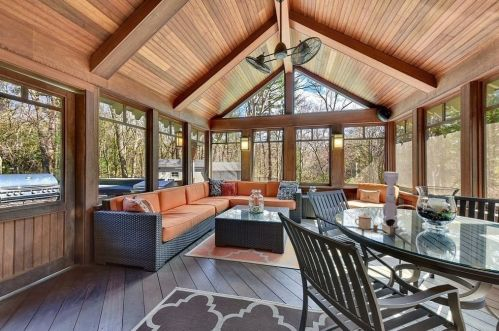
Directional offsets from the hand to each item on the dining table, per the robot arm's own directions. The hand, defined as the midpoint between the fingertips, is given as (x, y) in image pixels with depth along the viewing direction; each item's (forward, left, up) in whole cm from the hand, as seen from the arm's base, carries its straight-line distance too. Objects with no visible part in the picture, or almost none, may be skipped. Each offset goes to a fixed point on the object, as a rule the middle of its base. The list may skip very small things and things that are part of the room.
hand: (389, 229), depth 175 cm
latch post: (+8, -6, -2) cm, 10 cm away
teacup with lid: (+9, -16, -2) cm, 19 cm away
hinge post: (+7, +6, -2) cm, 9 cm away
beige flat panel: (+3, -1, -2) cm, 3 cm away
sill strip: (+7, -2, -2) cm, 7 cm away
